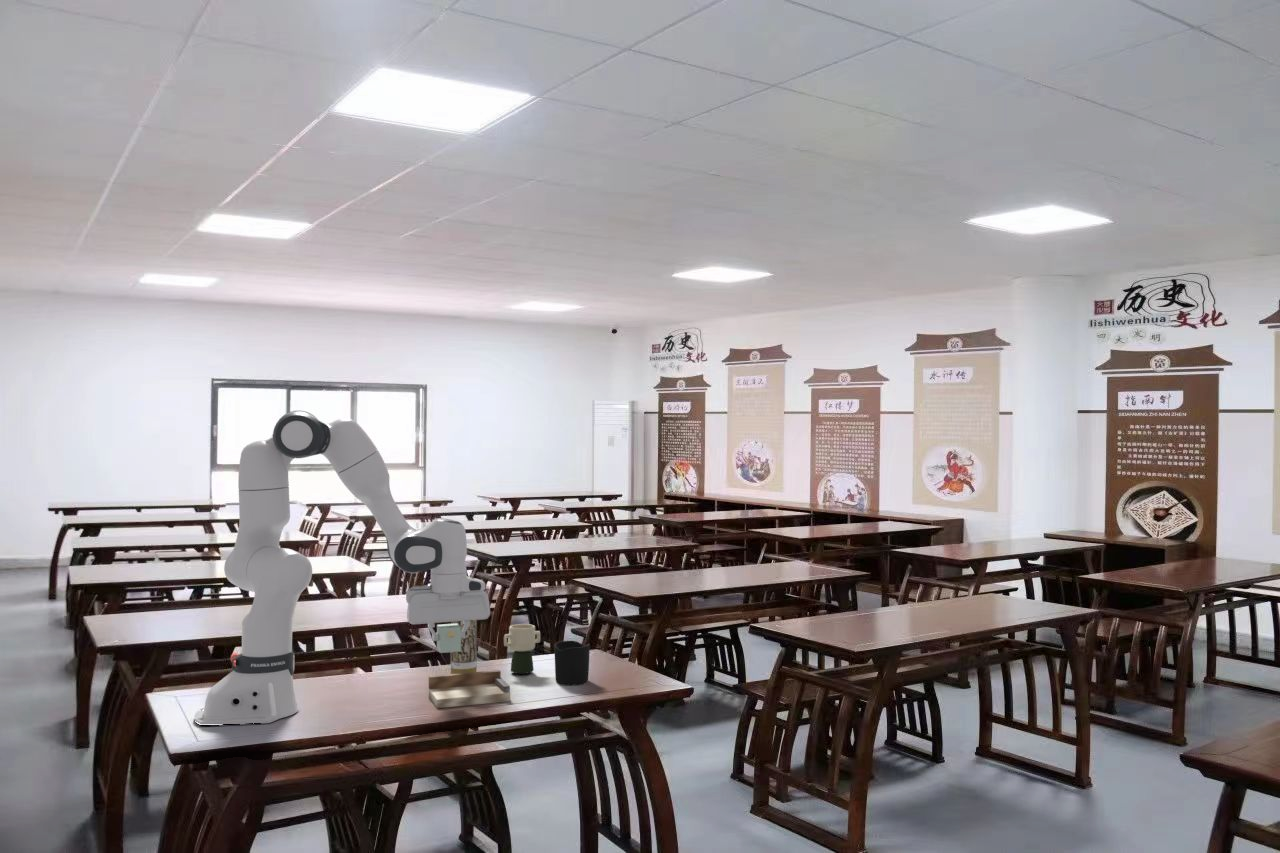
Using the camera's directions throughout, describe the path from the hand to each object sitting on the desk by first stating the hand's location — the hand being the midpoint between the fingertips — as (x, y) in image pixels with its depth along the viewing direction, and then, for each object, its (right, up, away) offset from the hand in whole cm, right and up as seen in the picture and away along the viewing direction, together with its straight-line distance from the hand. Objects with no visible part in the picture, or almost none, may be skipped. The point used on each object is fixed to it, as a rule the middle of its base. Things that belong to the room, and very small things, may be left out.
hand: (448, 639), depth 240 cm
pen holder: (+29, -15, +18) cm, 37 cm away
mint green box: (0, -3, 0) cm, 3 cm away
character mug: (+15, -16, +27) cm, 34 cm away
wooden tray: (+5, -15, 0) cm, 16 cm away
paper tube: (+1, -15, +17) cm, 23 cm away
